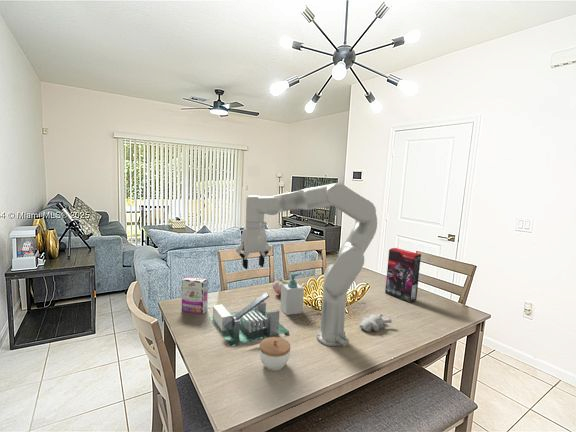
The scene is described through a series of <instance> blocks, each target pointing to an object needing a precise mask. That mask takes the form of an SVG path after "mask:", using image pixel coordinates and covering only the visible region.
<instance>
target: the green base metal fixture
mask: <svg viewBox="0 0 576 432" xmlns="http://www.w3.org/2000/svg"><path fill="white" fill-rule="evenodd" d="M256 299H257V298H255V299H254V301H255V300H256ZM266 307H267V302H266V301H265V300H264V301H263V302H261V303H260V304H259V305H257V306H256V307H255V308H253V309H252V310H251V311H249V312H248V313H247V314H245V315H244V316H243V317H241V318H240V319H239V320H236V321H234V320H233V321H234V325H233V326H232V327H231V328H229V330H224V331H222V330H221V329H220V328H219V326H218V325H217V324H216V322H215V321H214V320H213V316H209V319H210V321H211V322H212V323H213V325H214V326H215V327H216V329H217V330H218V332H219V333H220V334H221V336H222V337H223V338H224V340H225V341H226V343H227V344H228V346H229V347H230V348H233V347H236V346H240V345H244V344H248V343H251V342H255V341H259V340H262V339H263V340H264V339H266V338H269V337H276V336H278V335H282V334H283V335H284V336H287V335H290V331H289V330H288V329H287V328H286V327H285V326H284V325H282V324H281V323H280V310H279V309H278V310H277V309H276V310H273V311H269V312H268V311H266V310H267V309H266ZM240 311H241V310H240ZM240 311H235V312H229V313H230V314H231V316H230V317H231V318H232V316H234V315H236V314H237V313H238V312H240ZM232 319H233V318H232Z"/></svg>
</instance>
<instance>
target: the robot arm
mask: <svg viewBox="0 0 576 432" xmlns="http://www.w3.org/2000/svg"><path fill="white" fill-rule="evenodd" d="M245 202H246V205H245V206H246V207H245V227H244V228H243V229H242V234H241V240H240V245H239V246H238V247H237V248H236V249H235V252H236V254H237V255H238V256H239V257H241V259H242V267H243V269H245V270H247V269H248V268H249V260H248V257H249V254H257V253H259V257H258V266H260V267H261V268H264V266H265V258H266V256H267V255H268V254H269V252H270V251H271V250H272V247H271V245H269V244H268V241H267V233H266V232H267V231H266V228H265V226H267V225H268V224H267V222H266V221H265V215H268V216H275V215H277V214H279V213H282V212H283V213H284V212H287V211H293V210H294V211H295V210H306V211H308V210H314V209H319V208H326V207H331V206H333V207H335V208H336V209H338V210H339V211H340V212H343V213H344V214H345V215H347V216H348V217H350V218H352V219H353V220H354V221H355V222H354V225H353V227H352V230H351V232H350V233H349V235H348V237H347V238H346V239H345V240H344V243H343V244H342V245H341V247H340V248H339V250H338V253H337V254H338V255H337V256H338V257H337V258H336V260H335V262H334V263H330V265H328V266H327V267H326V268H325V270H324V274H323V288H322V289H323V291H322V303H321V318H320V329H319V330H318V331H317V332H316V336H315V337H316V339H317V341H318V342H320V343H321V344H323V345H325V346H329V347H330V346H331V347H340V346H344V347H345V346H346V345H347V343H348V342H349V340H350V339H349V338H348V336H347V335H346V331H345V318H346V307H347V306H346V305H347V294H348V291H349V289H350V288H351V286H352V285H353V283H354V282H355V280H356V279H357V278H358V276H359V274H360V272H361V271H362V269H363V267H364V265H365V255H364V254H365V252H366V250H367V249H368V247H369V246H370V245H371V242H372V241H373V239H374V238H375V235H376V232H377V228H378V217H377V209H376V206H375V204H374V203H373V202H372V201H370V200H369V199H367V198H365V197H363V196H362V195H360V194H359V193H357V192H355V191H354V190H352V189H351V188H349V187H348V186H347V185H346V184H343V183H341V182H335V183H328V184H323V185H317V186H312V187H307V188H303V189H299V190H296V191H292V192H286V193H280V194H276V195H275V194H274V195H270V196H263V195H258V194H251V195H248V196H247V197H246V200H245Z"/></svg>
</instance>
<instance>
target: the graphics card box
mask: <svg viewBox="0 0 576 432" xmlns="http://www.w3.org/2000/svg"><path fill="white" fill-rule="evenodd" d="M421 257H422V254H421V253H417V252H412V251H409V250H405V249H402V248H397V247H393V248H390V249H388V259H387V269H386V280H385V288H384V289H385V291H384V293H385V294H387V295H390V296H392V297H395V298H397V299H401V300H402V301H405V302H408V303H412V302H416V301H417V298H418V288H419V276H420V267H421V266H420V265H421Z"/></svg>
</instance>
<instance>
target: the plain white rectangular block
mask: <svg viewBox="0 0 576 432" xmlns="http://www.w3.org/2000/svg"><path fill="white" fill-rule="evenodd" d="M230 313H231V312H229V311H228V310H227V309H226V307H225V306H224V305H223V304H215V305H212V317H213V320H214V321H215V322H216V324H217V325H218V326H219V328H220V329H221V330H222V331H224V330H226V329H225V328H224V326H223V324H222V322H223V321H224V320H226V319H227V318H229V317H230V316H231V314H230ZM228 330H229V329H228Z"/></svg>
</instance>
